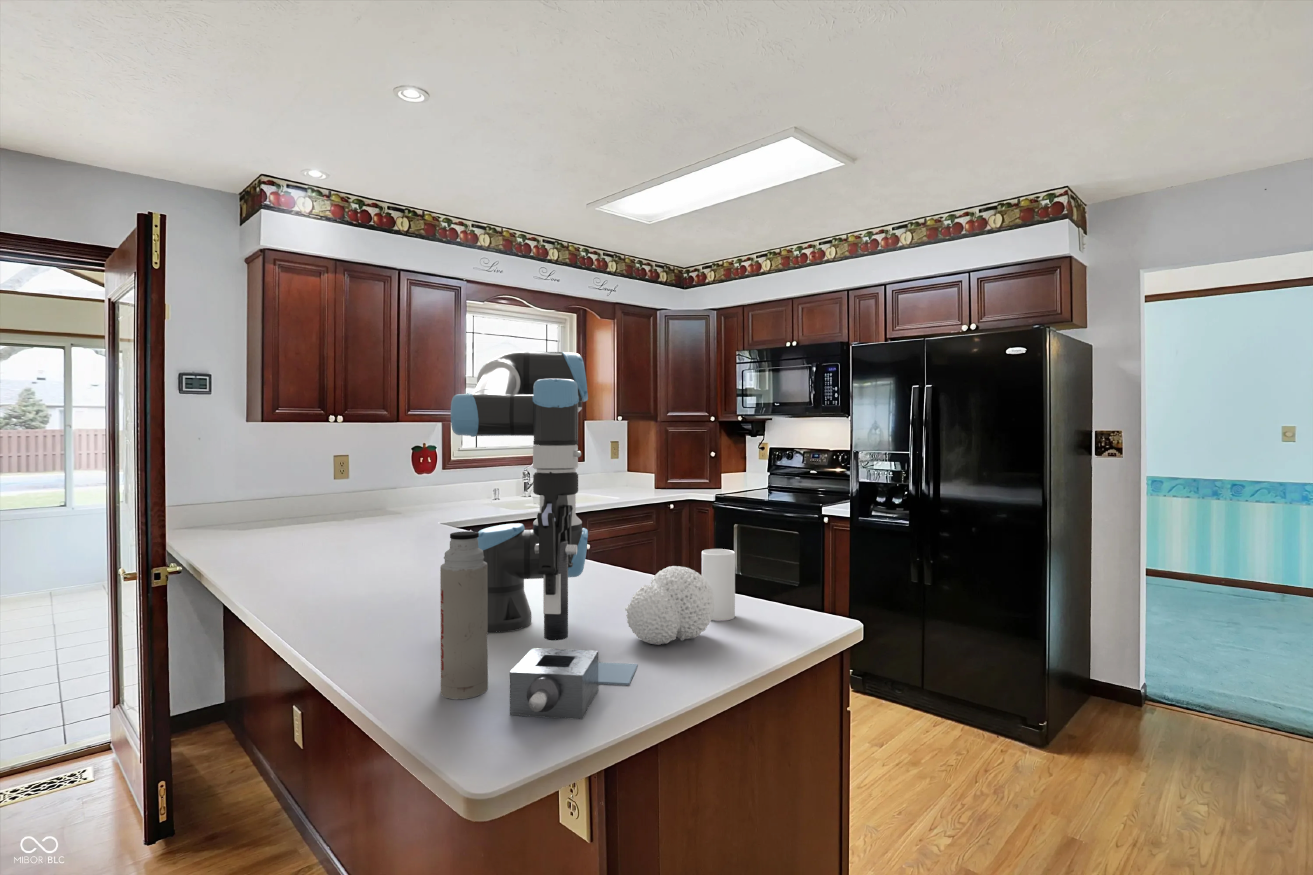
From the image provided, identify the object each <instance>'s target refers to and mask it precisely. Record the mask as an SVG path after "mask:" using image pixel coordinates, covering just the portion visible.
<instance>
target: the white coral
mask: <svg viewBox="0 0 1313 875" xmlns="http://www.w3.org/2000/svg"><path fill="white" fill-rule="evenodd" d="M625 611H626V618H627V622H626V623H627V624H628V627H629V628H630V629H631V631H632V633H633V634H634V635H635V636H636V637H637V638H638V639H640V640H641V641H643V643H645V642H646V643H647V644H649V645H651V644H652V645H655V646H657V645H658V646H661V644H662V645H665V644H669V643H670V642H672V641H675V640H676V639H677V638H678V639H679V640H680V641H682V642H684V641H685V640H688V639H693V638H694V639H696V638H697V637H699V636H700V635H702V633H703V632H704V631H706V629H707V627H708V626H709V625H710V622H711V621H712V620H711V619H712V617H713V612H714V597H713V594H712V590H711V589H710V586H709V584H708V583H707V581H706V580H705V579H704V578H703V577H702V574H700V572H697V571H696V570H694V569H691V568H690V567H686V566H679V565H678V566H677V565H672V566H667V567H666V568H663V569H662V570H659V571H658V572H657V573H656V574H655V575H654V577H653V578H652V579H651V581H650V585H647V584H644V585H643V586H641V587H640V588H639V589H637V591H636V592H635V594H633V595H632V597H631V600H630V603H629V604H627V606H626V607H625Z"/></svg>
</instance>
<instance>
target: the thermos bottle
mask: <svg viewBox="0 0 1313 875" xmlns="http://www.w3.org/2000/svg"><path fill="white" fill-rule="evenodd" d="M478 532H479V531H474V530H473V531H470V530H468V531H467V530H466V531H456V532H451V533H449V539H450V541H449V549H447V550H446V551H445V552H444V556H443V559H444V562H443V563H442V564H441V565H440V572H439V573H440V694H441V696H442V697H444V698H446V699H450V700H466V699H472V698H476V697H478V696H481V695H483V694H485V693H486V692H487V690H488V687H489V686H488V684H489V682H488V679H489V676H488V674H489V672H488V671H489V670H488V669H489V667H488V666H489V663H488V661H489V656H488V655H489V654H488V633H487V631H488V587H487V563H486V562H484V561H483V558H484V556H483V550H481V549H480V548H478V540H477V538H478V537H479V533H478Z"/></svg>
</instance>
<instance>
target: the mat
mask: <svg viewBox="0 0 1313 875" xmlns="http://www.w3.org/2000/svg"><path fill="white" fill-rule="evenodd" d="M637 668H638V663H629V662H628V663H624V662H603V661H602V662H601V661H598V685H615V686H616V685H617V686H630V684H631V682H632V680H633V678H634V675H635V673H636V671H637Z"/></svg>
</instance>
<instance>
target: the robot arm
mask: <svg viewBox="0 0 1313 875" xmlns="http://www.w3.org/2000/svg"><path fill="white" fill-rule="evenodd" d="M588 400H589V393H588V383H587V376H586V369H585V363H584V359H583V357H582V356H581V355H580V354H579V353H576V352H567V351H566V352H565V351H512V352H508V353H504V354H501V355H499V356H495V357H493V358H492V359H490V360H489V361H487V362H486V363H485V364H484V365H483V366H482V367H481V368H480V370H479V372H478V374H477V377H476V387H475V388H474V391H473V392H472V393H470V392H469V393H464V394H463V393H461V394H458V393H457V394H455V395H453V397H452V399H451V402H450V424H451V430H452V431H453V434H455V435H457V436H467V437H468V436H469V437H473V438H474V437H499V436H500V437H506V436H507V437H510V436H512V437H516V436H517V437H519V436H520V437H527V436H528V437H533V441H532V442H533V445H532V468H533V469H534V470H536V472H534V474H532V477H533V478H532V484H533V485H532V490H533V491H532V492H533V493H534V495H536V496H539V512H538V513H537V515H536V519H535V520H534V521H533V523H532V526H533V528H532V529H526V528H525V525H524V524H523V523H519V522H518V523H506V524H499V525H493V526H490V527H485V528H483V529H480V530H479V531H477V532H478V533H479V537H478V538H477V540H478V548H480V549H481V550H483V556H484V558H483V561H484V562H486V563H487V587H488V631H487V634H488V633H490V634H492V633H494V634H495V633H496V634H497V633H506V632H507V633H508V632H513V631H518V630H521V629H524V628H526V627H528V626H530V625H531V624H532V621H533V620H532V617H533V616H532V609H531V606H530V605H529V602H528V601H529V600H528V598H527V595H526V592H525V580H538V579H543V582H542V583H543V594H542V595H543V596H542V597H543V600H542V601H543V605H542V606H543V615H544V614H560V613H561V574H558V573H559V554H560V540H562V541H568V545H577V554H568V579H569V578H577V577H579V576H581V575H582V574H583V572H584V568H585V562H586V556H587V551H588V550H587V549H588V548H587V546H588V538H589V530H588V529H587V528H586V527H583V521H582V519H580V518H579V516H577V514H576V509H577V508H576V502H577V501H576V500H577V499H576V495H577V494H578V492H579V473H578V472H576V469H578V467H579V458H580V457H581V456H582V452H581V451H580V450H579V449H578V448H579V446H578V445H579V412H580V411H581V410H583V403H584V402H587V401H588ZM535 544H539V554H535V550H534V549H535Z"/></svg>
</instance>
